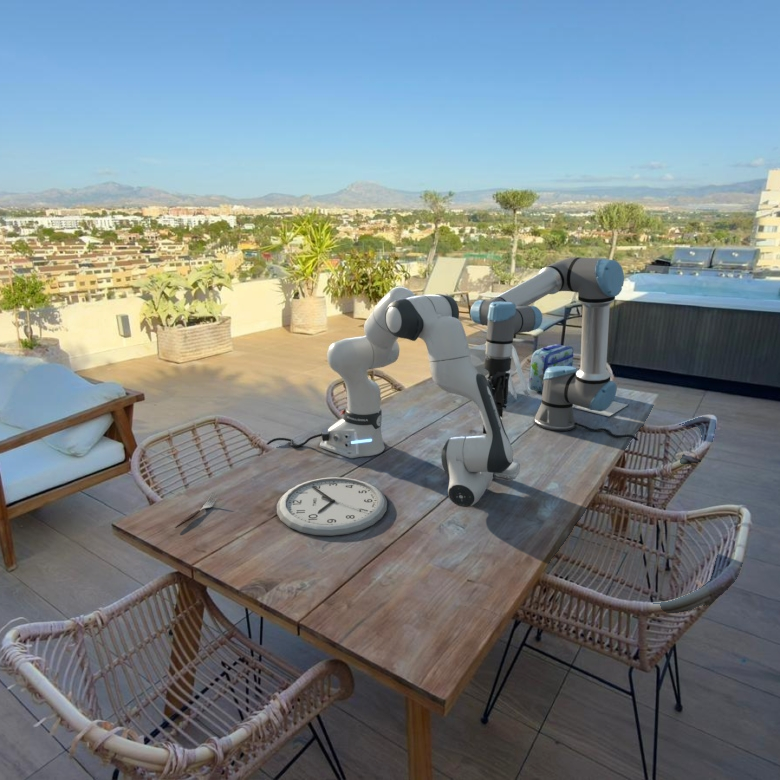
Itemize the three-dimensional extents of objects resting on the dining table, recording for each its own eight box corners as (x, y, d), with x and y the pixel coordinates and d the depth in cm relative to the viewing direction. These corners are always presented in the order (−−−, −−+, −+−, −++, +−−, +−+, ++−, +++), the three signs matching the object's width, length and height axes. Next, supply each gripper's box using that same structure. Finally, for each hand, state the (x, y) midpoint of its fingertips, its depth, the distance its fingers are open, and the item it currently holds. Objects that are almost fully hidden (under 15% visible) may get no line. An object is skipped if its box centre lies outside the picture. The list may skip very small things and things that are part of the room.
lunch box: (545, 397, 238) (550, 352, 231) (524, 391, 245) (529, 348, 239) (572, 386, 255) (578, 344, 249) (552, 381, 262) (557, 340, 256)
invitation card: (608, 416, 214) (573, 407, 224) (608, 416, 214) (573, 408, 224) (628, 404, 229) (594, 396, 238) (628, 405, 229) (594, 397, 238)
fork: (171, 528, 130) (170, 521, 130) (212, 499, 145) (211, 492, 144) (179, 530, 129) (178, 523, 129) (220, 500, 144) (219, 494, 143)
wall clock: (392, 527, 129) (268, 531, 127) (391, 533, 130) (269, 537, 127) (383, 473, 158) (282, 475, 155) (383, 478, 158) (282, 480, 156)
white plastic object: (461, 429, 252) (437, 405, 227) (444, 352, 274) (420, 323, 250) (535, 404, 240) (518, 377, 215) (510, 326, 262) (492, 293, 237)
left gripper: (515, 469, 144) (525, 451, 156) (445, 455, 152) (460, 439, 164) (513, 490, 146) (523, 470, 158) (444, 475, 154) (459, 457, 166)
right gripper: (500, 348, 160) (494, 419, 167) (471, 360, 146) (466, 437, 153) (523, 352, 156) (516, 425, 163) (496, 364, 142) (489, 443, 149)
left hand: (490, 454), depth 161 cm, fingers closed on jar, 5 cm apart
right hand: (492, 430), depth 158 cm, fingers open, 5 cm apart
